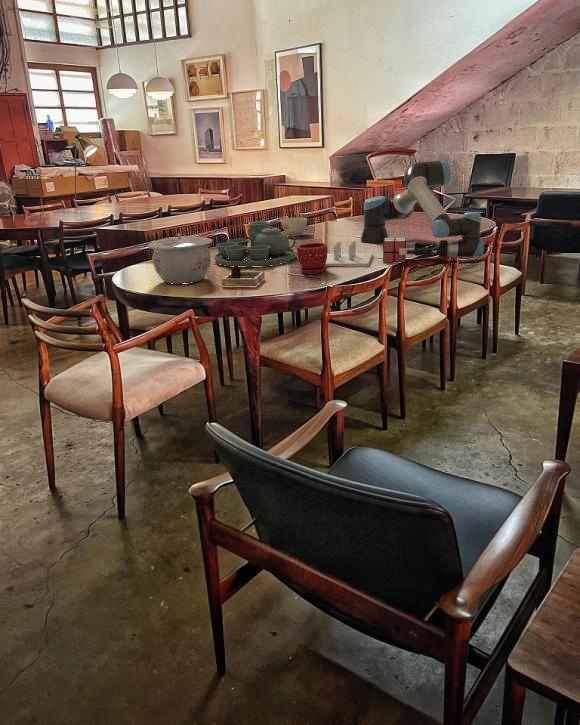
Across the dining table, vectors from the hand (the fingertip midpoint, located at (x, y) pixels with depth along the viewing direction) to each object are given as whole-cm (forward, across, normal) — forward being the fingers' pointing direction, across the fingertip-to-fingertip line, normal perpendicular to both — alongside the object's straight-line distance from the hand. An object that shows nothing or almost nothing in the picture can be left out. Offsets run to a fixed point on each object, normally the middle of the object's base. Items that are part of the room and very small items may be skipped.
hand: (399, 248), depth 267 cm
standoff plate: (+25, 0, -6) cm, 26 cm away
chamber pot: (+90, -41, -6) cm, 99 cm away
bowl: (+66, +76, -6) cm, 101 cm away
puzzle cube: (+2, +1, -6) cm, 6 cm away
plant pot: (+37, -23, -6) cm, 44 cm away
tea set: (+70, +4, -6) cm, 71 cm away
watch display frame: (+62, -45, -6) cm, 77 cm away
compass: (+62, -43, -6) cm, 76 cm away
